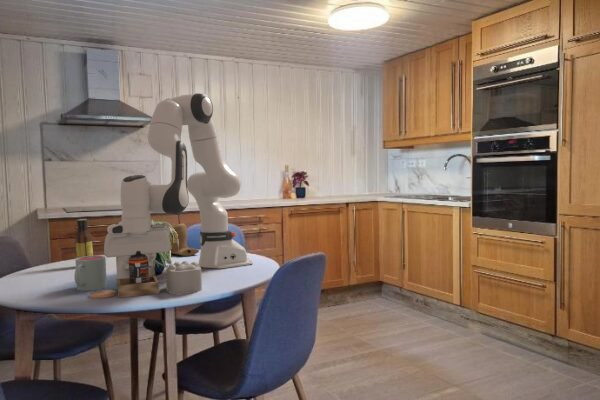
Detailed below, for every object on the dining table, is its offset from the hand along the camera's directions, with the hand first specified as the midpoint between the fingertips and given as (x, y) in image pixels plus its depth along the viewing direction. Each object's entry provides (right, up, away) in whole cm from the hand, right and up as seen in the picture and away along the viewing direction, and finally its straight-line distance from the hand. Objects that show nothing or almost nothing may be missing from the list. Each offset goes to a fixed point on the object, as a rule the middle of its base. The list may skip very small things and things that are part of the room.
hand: (138, 268), depth 150 cm
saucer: (-10, -8, -5) cm, 13 cm away
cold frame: (-1, -7, +2) cm, 8 cm away
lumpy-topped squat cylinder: (+14, -8, +3) cm, 16 cm away
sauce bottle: (-38, -6, +44) cm, 58 cm away
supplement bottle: (0, -6, 0) cm, 6 cm away
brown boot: (-4, -4, +70) cm, 70 cm away
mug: (-19, -8, +5) cm, 21 cm away
